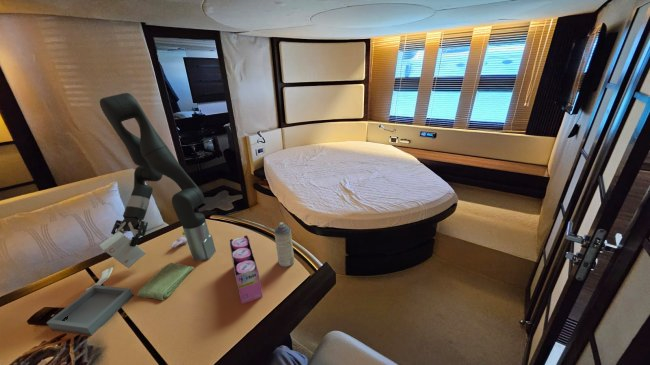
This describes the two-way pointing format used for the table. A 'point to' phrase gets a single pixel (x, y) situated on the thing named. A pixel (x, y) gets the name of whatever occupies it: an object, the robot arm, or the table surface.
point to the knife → (103, 277)
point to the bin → (91, 310)
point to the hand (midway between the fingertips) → (123, 245)
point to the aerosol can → (284, 245)
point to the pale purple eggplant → (179, 241)
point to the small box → (122, 249)
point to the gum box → (245, 269)
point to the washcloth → (165, 281)
